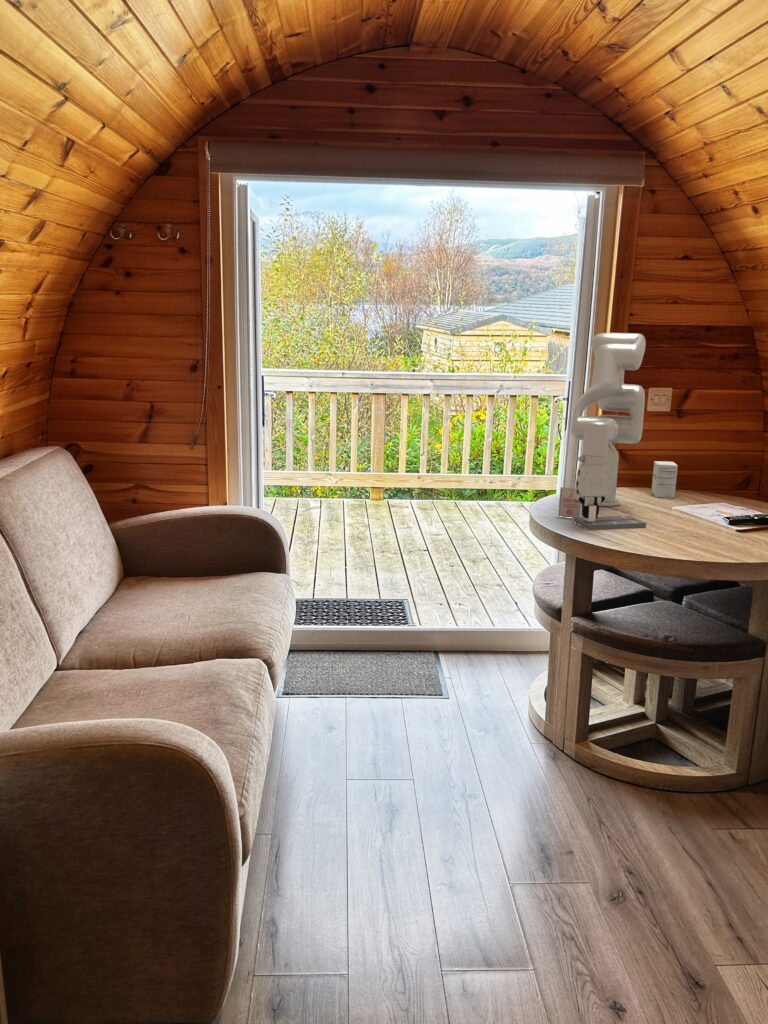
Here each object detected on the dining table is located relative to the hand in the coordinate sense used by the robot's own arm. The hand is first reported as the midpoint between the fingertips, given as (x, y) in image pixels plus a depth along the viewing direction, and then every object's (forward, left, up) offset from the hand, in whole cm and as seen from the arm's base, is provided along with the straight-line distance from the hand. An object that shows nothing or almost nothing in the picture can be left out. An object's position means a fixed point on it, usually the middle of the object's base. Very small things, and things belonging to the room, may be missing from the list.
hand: (589, 516), depth 256 cm
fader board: (0, +7, -3) cm, 8 cm away
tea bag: (-12, -2, -3) cm, 12 cm away
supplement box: (-38, +48, -3) cm, 61 cm away
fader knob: (0, 0, -1) cm, 1 cm away
